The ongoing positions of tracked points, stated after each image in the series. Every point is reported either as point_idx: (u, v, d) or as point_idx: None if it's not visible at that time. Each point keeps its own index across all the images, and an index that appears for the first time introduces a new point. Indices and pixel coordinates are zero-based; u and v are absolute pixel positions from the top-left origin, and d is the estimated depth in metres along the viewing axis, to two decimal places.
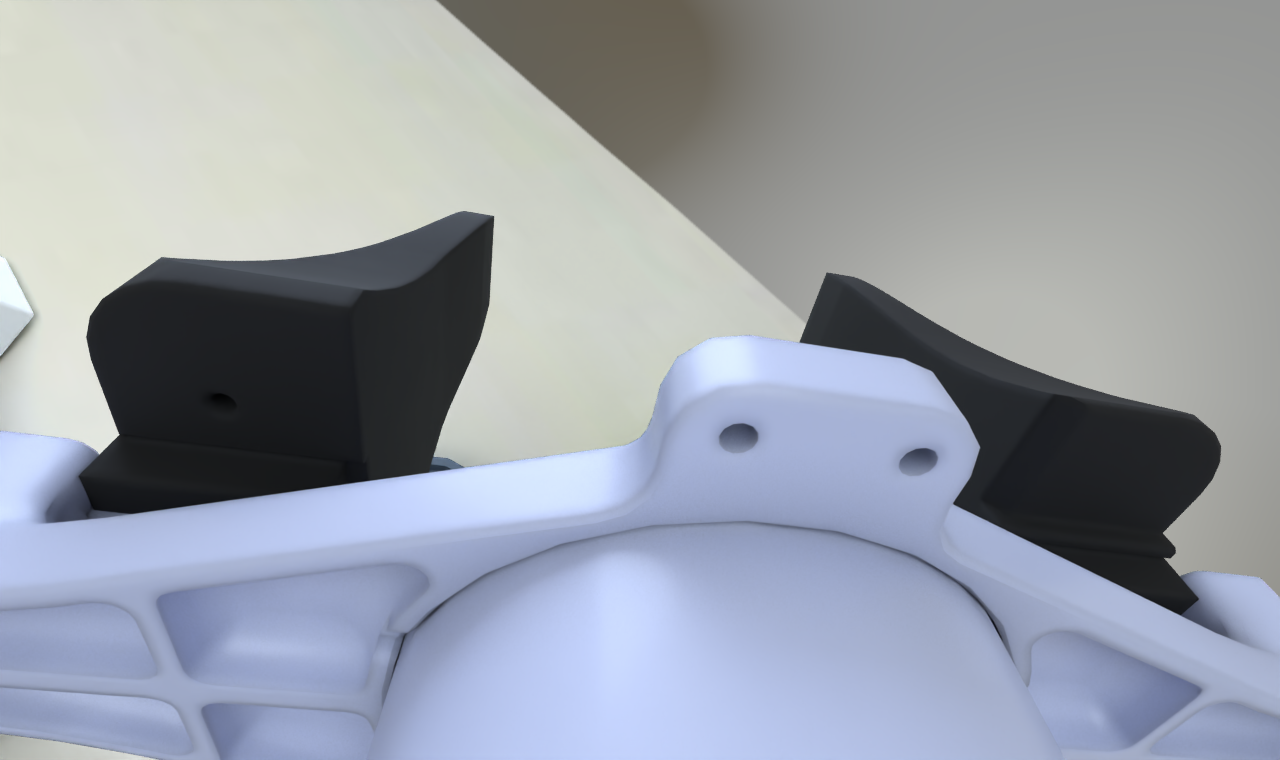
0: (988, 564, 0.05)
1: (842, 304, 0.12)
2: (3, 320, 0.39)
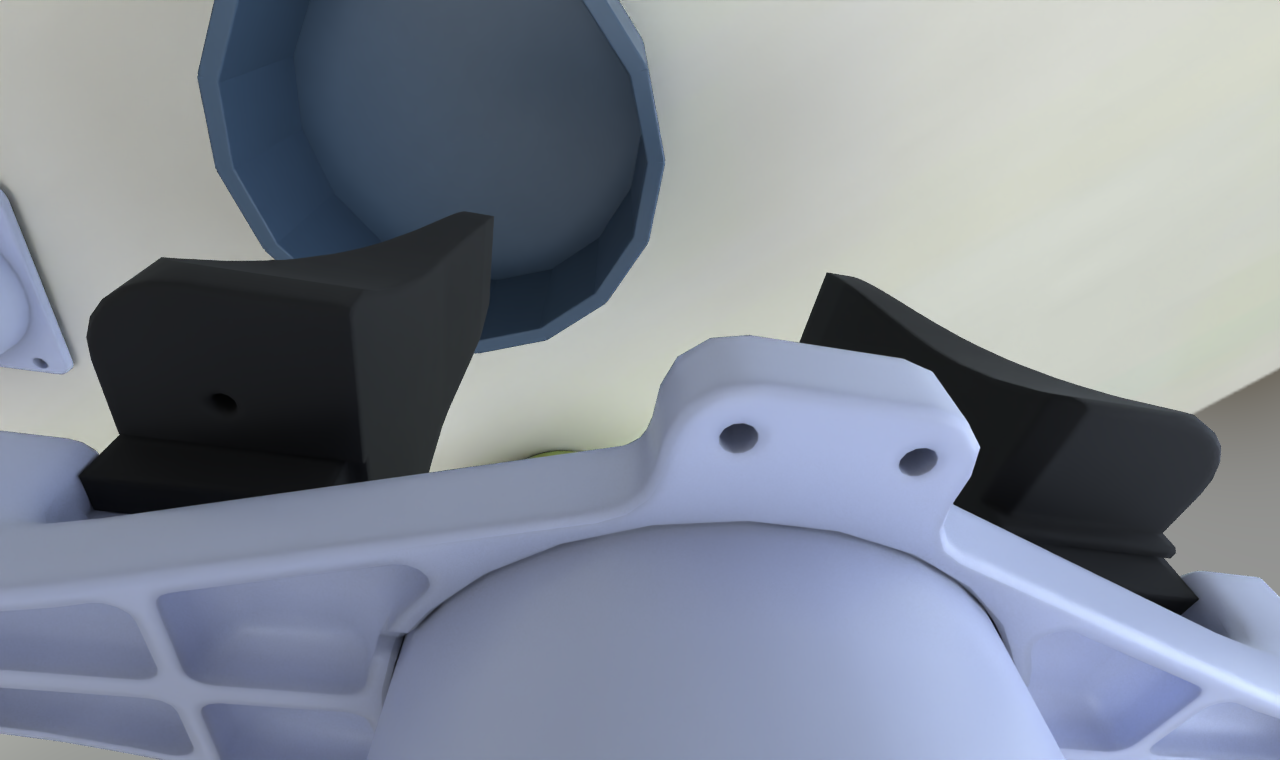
0: (988, 565, 0.05)
1: (842, 304, 0.12)
2: None
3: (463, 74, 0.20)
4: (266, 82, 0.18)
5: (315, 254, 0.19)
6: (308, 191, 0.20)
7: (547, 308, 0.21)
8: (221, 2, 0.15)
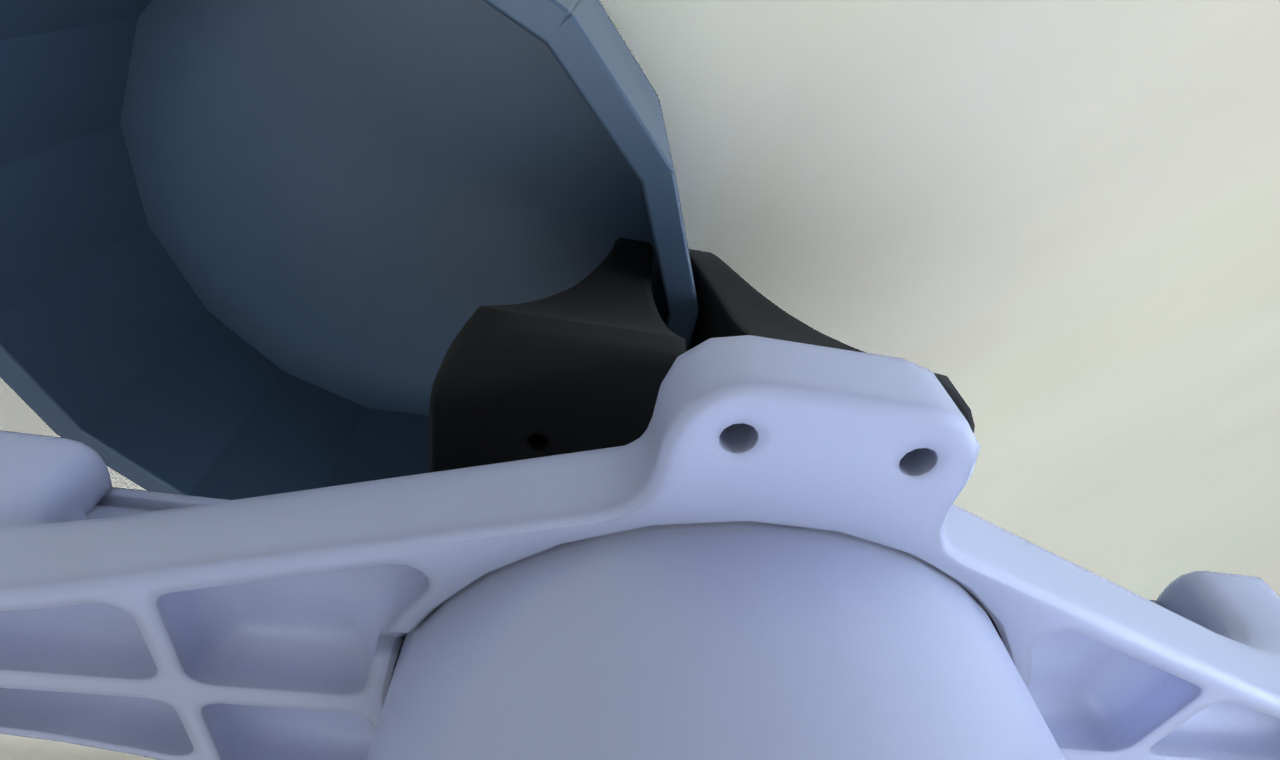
0: (988, 564, 0.05)
1: None
2: None
3: (384, 148, 0.13)
4: (56, 173, 0.11)
5: (155, 427, 0.13)
6: (155, 320, 0.14)
7: None
8: None
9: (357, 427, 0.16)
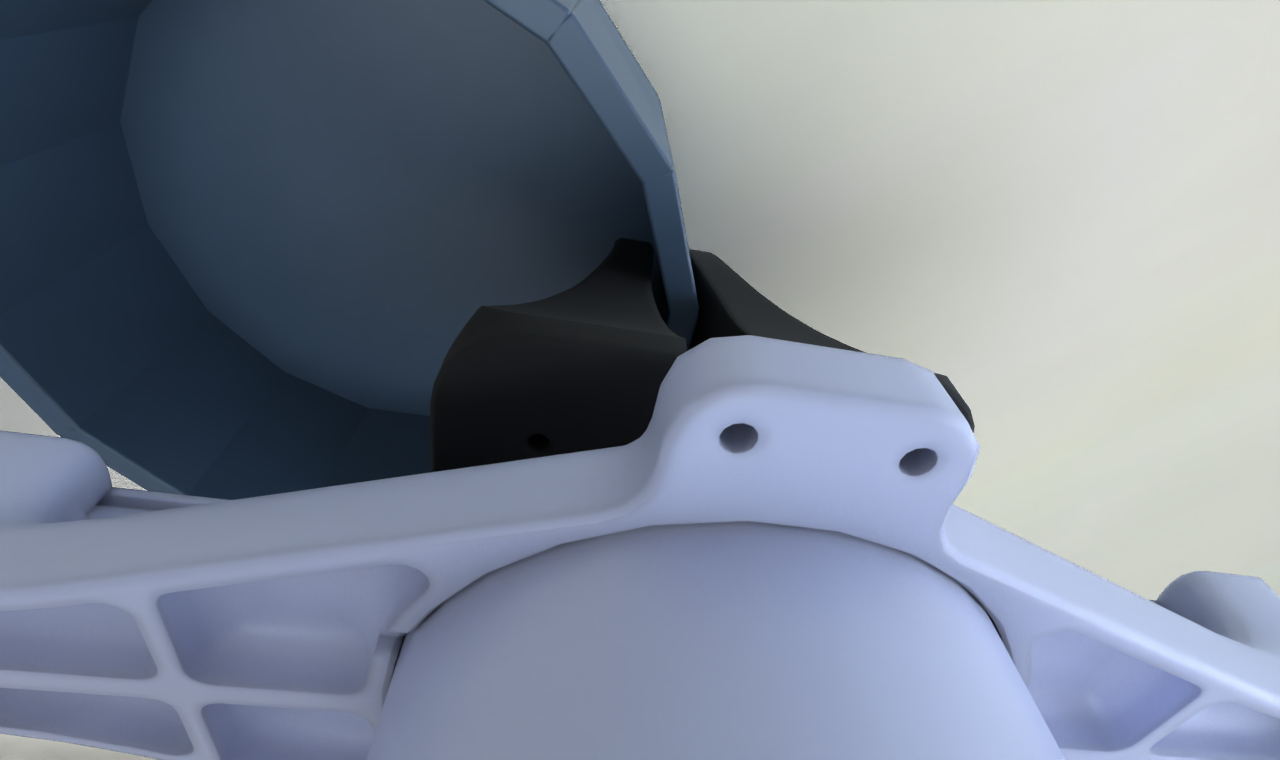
0: (987, 564, 0.05)
1: None
2: None
3: (385, 148, 0.13)
4: (56, 172, 0.11)
5: (155, 427, 0.13)
6: (155, 320, 0.14)
7: None
8: None
9: (357, 427, 0.16)
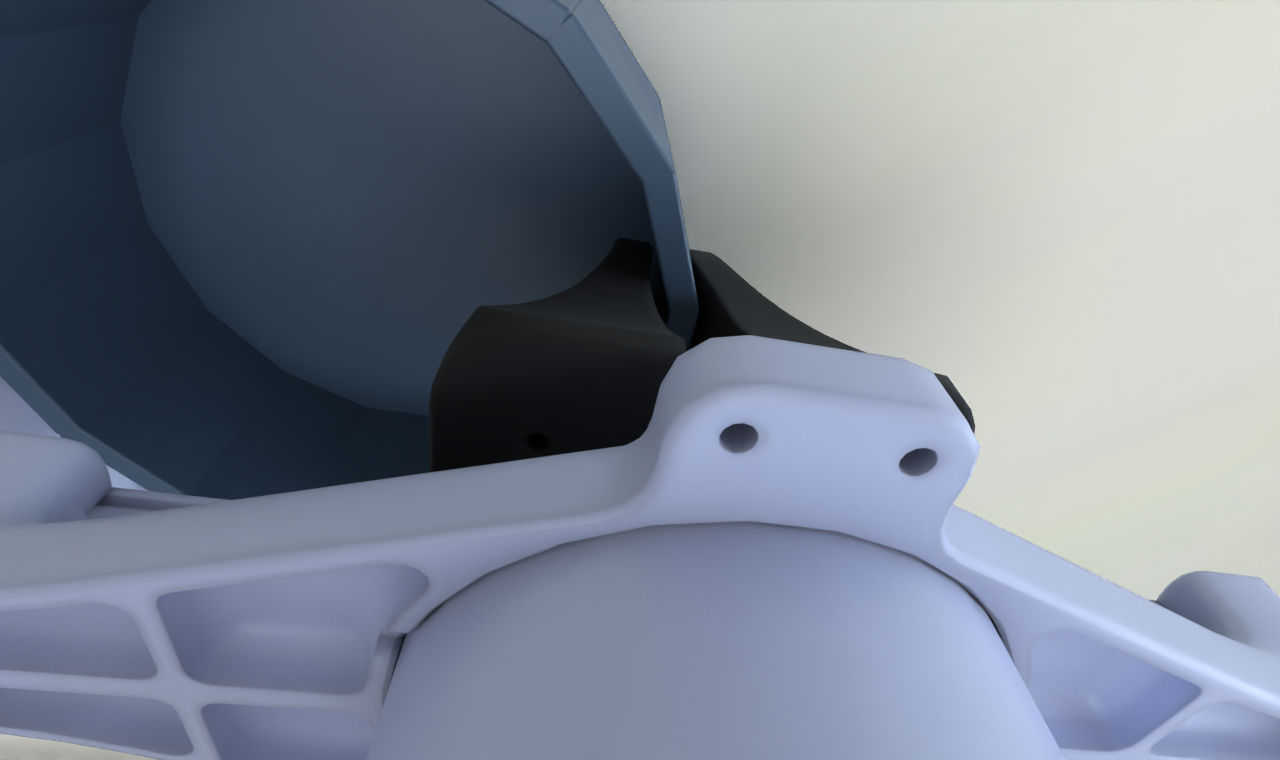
0: (987, 566, 0.05)
1: None
2: None
3: (385, 148, 0.13)
4: (56, 172, 0.11)
5: (155, 427, 0.13)
6: (155, 320, 0.14)
7: None
8: None
9: (357, 427, 0.16)
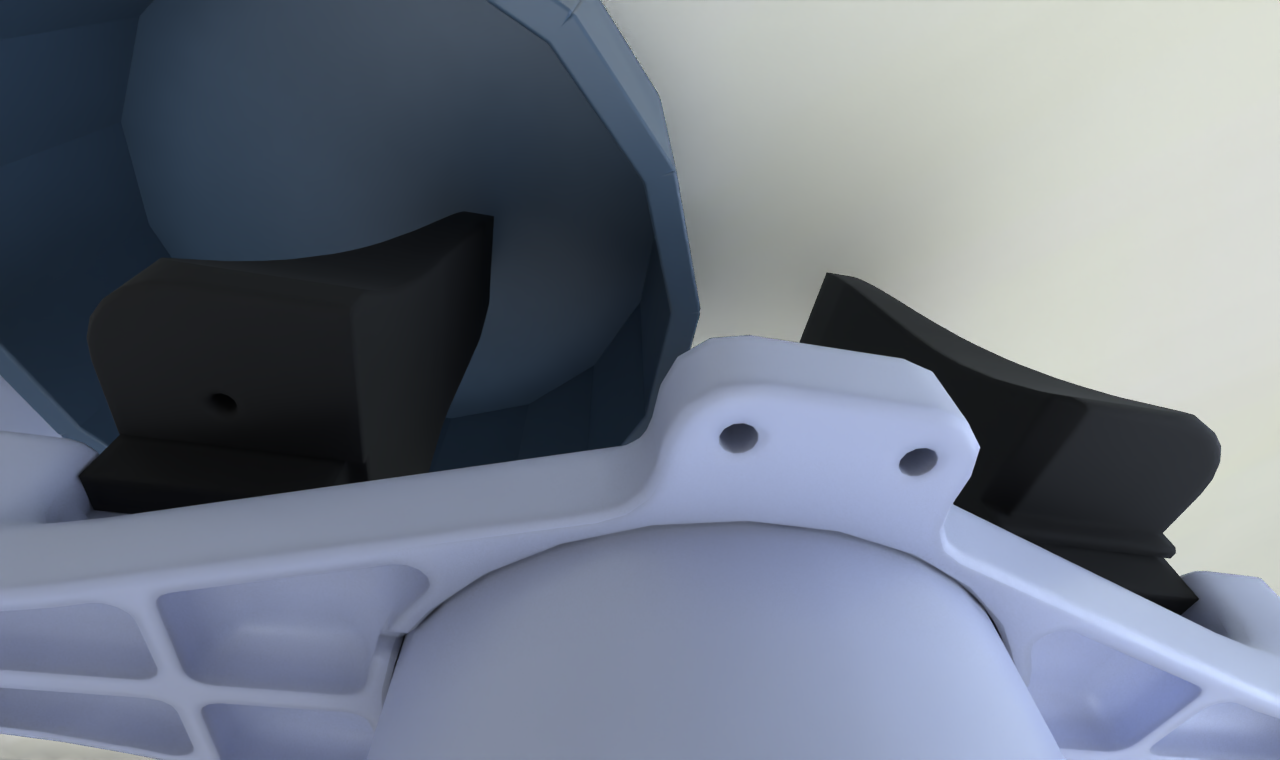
0: (988, 566, 0.05)
1: (842, 304, 0.12)
2: None
3: (386, 148, 0.13)
4: (57, 172, 0.11)
5: None
6: None
7: None
8: None
9: None
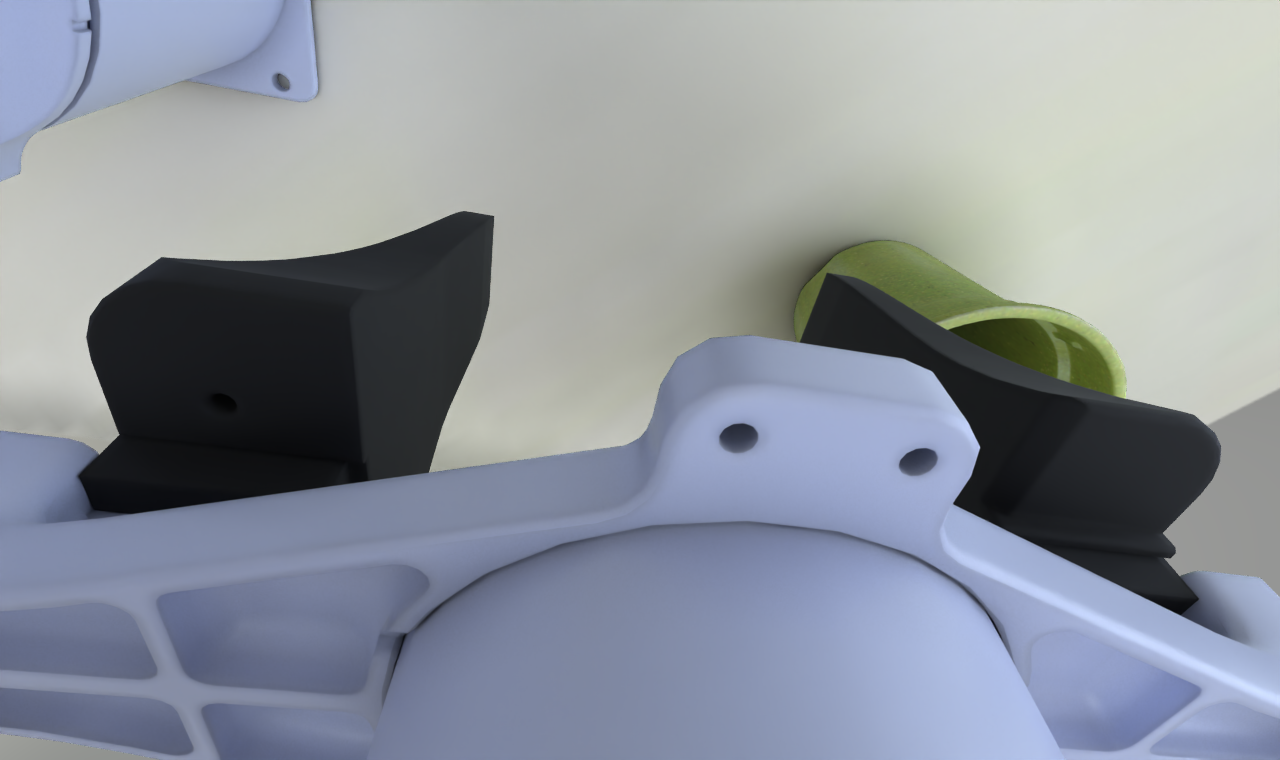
0: (988, 566, 0.05)
1: (842, 304, 0.12)
2: None
3: None
4: None
5: None
6: None
7: None
8: None
9: None
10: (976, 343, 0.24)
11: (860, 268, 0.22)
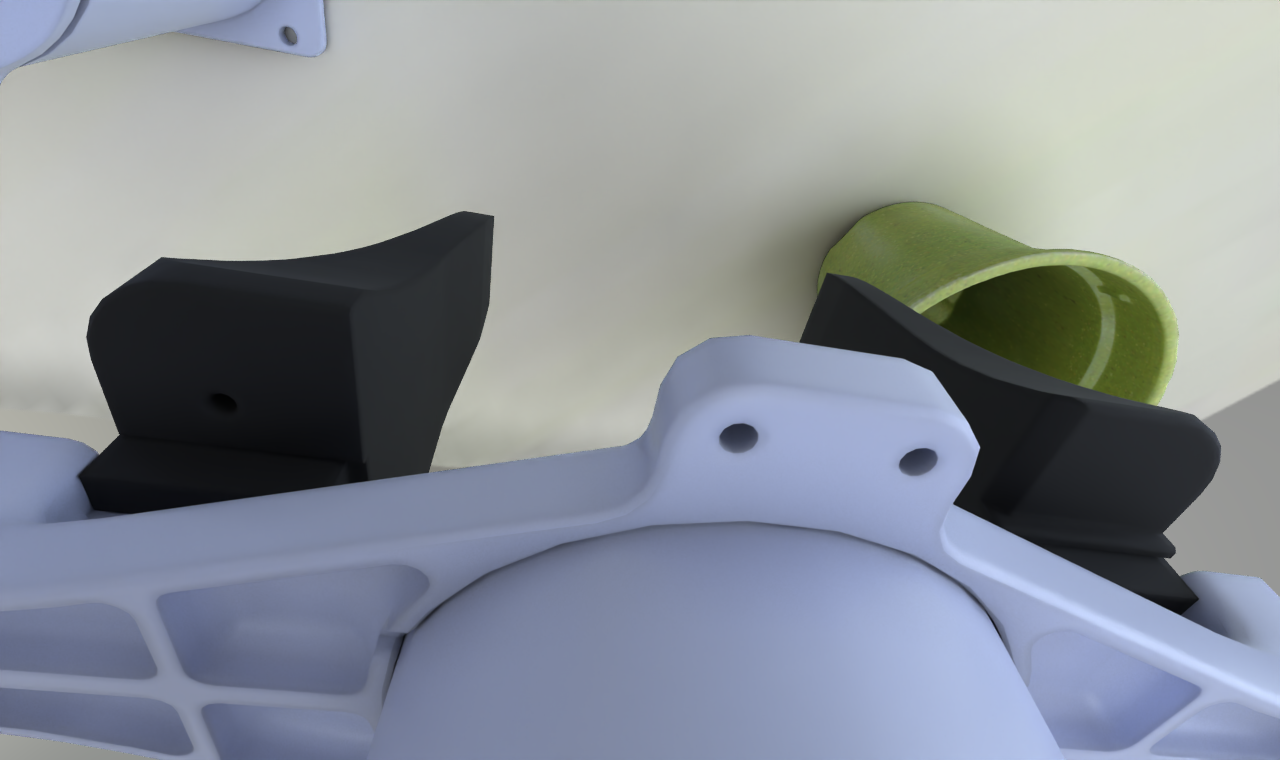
0: (988, 566, 0.05)
1: (842, 304, 0.12)
2: None
3: None
4: None
5: None
6: None
7: None
8: None
9: None
10: (1009, 307, 0.23)
11: (889, 228, 0.21)
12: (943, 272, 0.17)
